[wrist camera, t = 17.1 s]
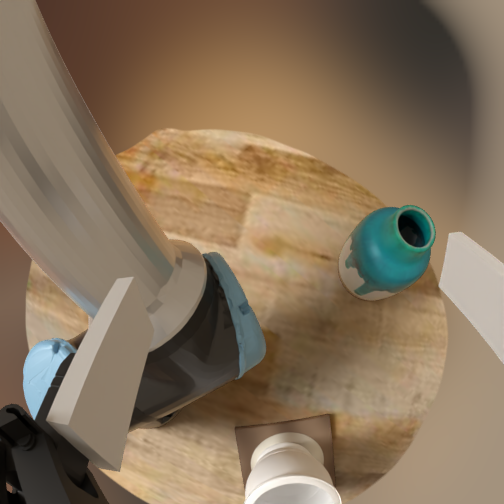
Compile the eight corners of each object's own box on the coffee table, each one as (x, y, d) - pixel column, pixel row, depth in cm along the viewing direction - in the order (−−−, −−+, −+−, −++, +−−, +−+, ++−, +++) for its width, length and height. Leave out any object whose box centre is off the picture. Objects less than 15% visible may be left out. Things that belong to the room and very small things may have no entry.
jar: (239, 479, 34) (228, 530, 20) (264, 426, 37) (264, 464, 23) (303, 497, 33) (317, 549, 19) (330, 445, 36) (358, 485, 21)
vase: (403, 278, 44) (469, 237, 26) (359, 319, 43) (417, 299, 25) (364, 230, 47) (409, 167, 29) (317, 267, 46) (349, 215, 28)
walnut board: (247, 499, 34) (247, 502, 33) (235, 426, 39) (234, 429, 37) (334, 486, 34) (335, 489, 33) (327, 413, 39) (329, 415, 37)
